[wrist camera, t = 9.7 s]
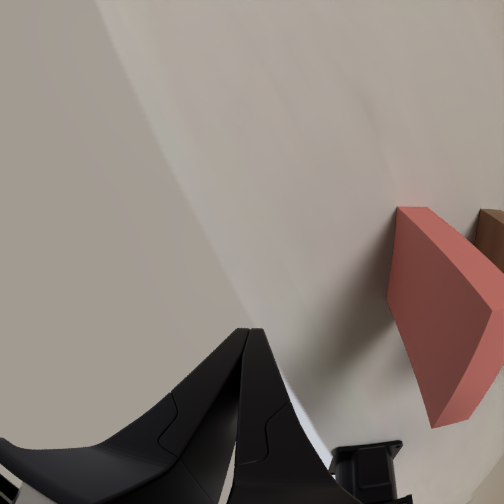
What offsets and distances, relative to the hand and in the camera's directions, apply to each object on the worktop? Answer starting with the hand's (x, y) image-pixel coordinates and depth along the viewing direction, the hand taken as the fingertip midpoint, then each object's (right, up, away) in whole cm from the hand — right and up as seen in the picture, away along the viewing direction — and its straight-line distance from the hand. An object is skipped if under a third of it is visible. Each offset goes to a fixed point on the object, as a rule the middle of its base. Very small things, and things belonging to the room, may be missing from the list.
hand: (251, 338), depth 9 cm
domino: (+8, +3, +4) cm, 9 cm away
